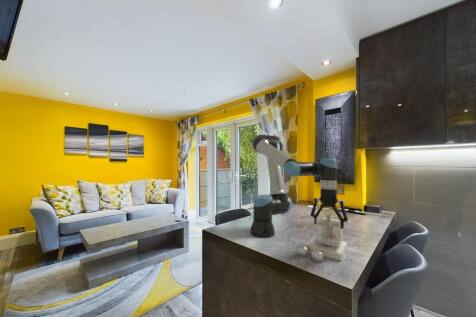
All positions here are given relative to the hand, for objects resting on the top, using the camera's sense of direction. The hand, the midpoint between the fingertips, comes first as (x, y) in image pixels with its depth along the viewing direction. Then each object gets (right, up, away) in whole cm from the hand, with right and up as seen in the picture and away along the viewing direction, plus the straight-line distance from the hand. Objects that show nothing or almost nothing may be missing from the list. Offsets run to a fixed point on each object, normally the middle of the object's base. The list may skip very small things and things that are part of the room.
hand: (328, 232), depth 101 cm
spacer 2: (-10, -9, -10) cm, 17 cm away
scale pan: (0, -4, 0) cm, 4 cm away
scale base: (+1, -9, +1) cm, 9 cm away
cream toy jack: (0, -1, 0) cm, 1 cm away
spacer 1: (-15, -9, -5) cm, 18 cm away
